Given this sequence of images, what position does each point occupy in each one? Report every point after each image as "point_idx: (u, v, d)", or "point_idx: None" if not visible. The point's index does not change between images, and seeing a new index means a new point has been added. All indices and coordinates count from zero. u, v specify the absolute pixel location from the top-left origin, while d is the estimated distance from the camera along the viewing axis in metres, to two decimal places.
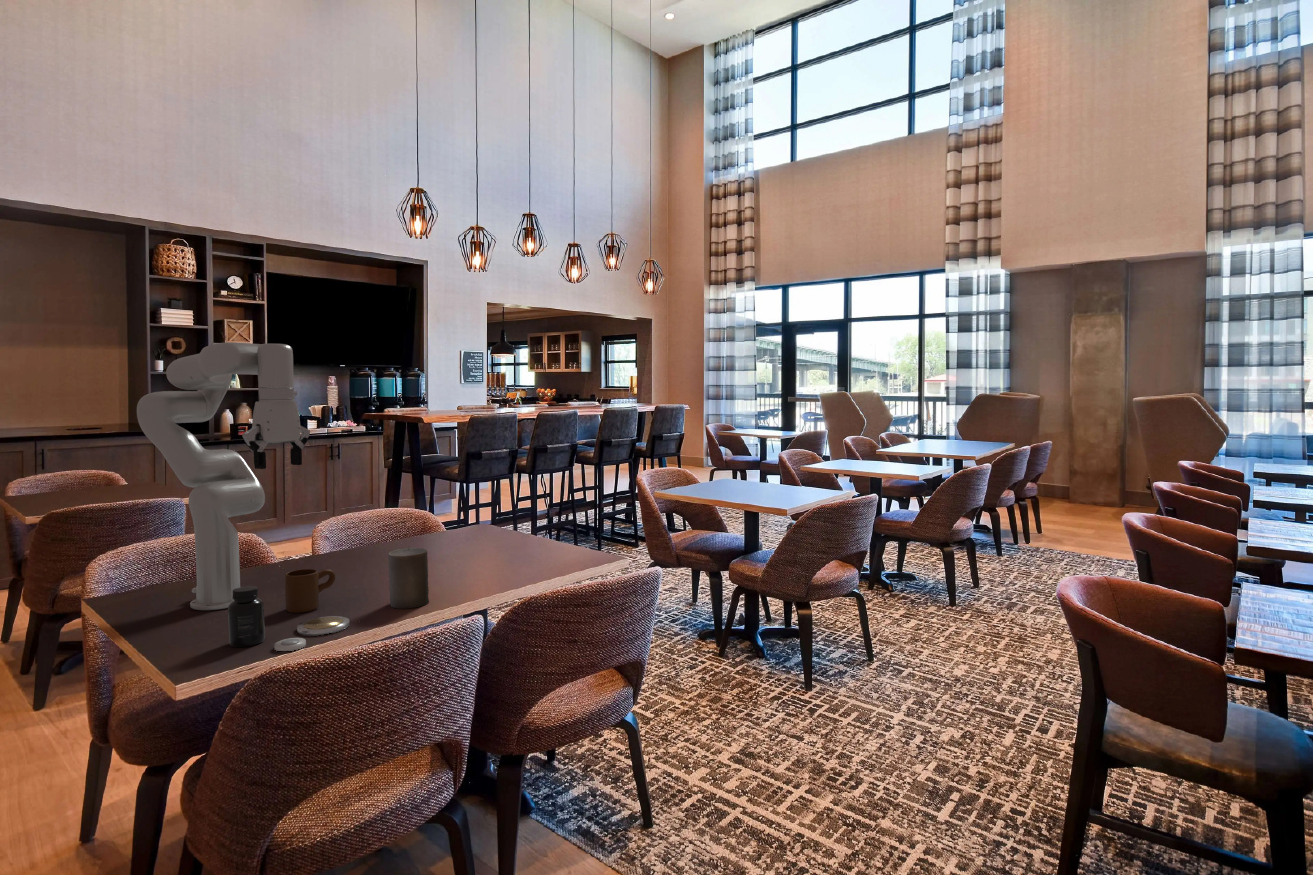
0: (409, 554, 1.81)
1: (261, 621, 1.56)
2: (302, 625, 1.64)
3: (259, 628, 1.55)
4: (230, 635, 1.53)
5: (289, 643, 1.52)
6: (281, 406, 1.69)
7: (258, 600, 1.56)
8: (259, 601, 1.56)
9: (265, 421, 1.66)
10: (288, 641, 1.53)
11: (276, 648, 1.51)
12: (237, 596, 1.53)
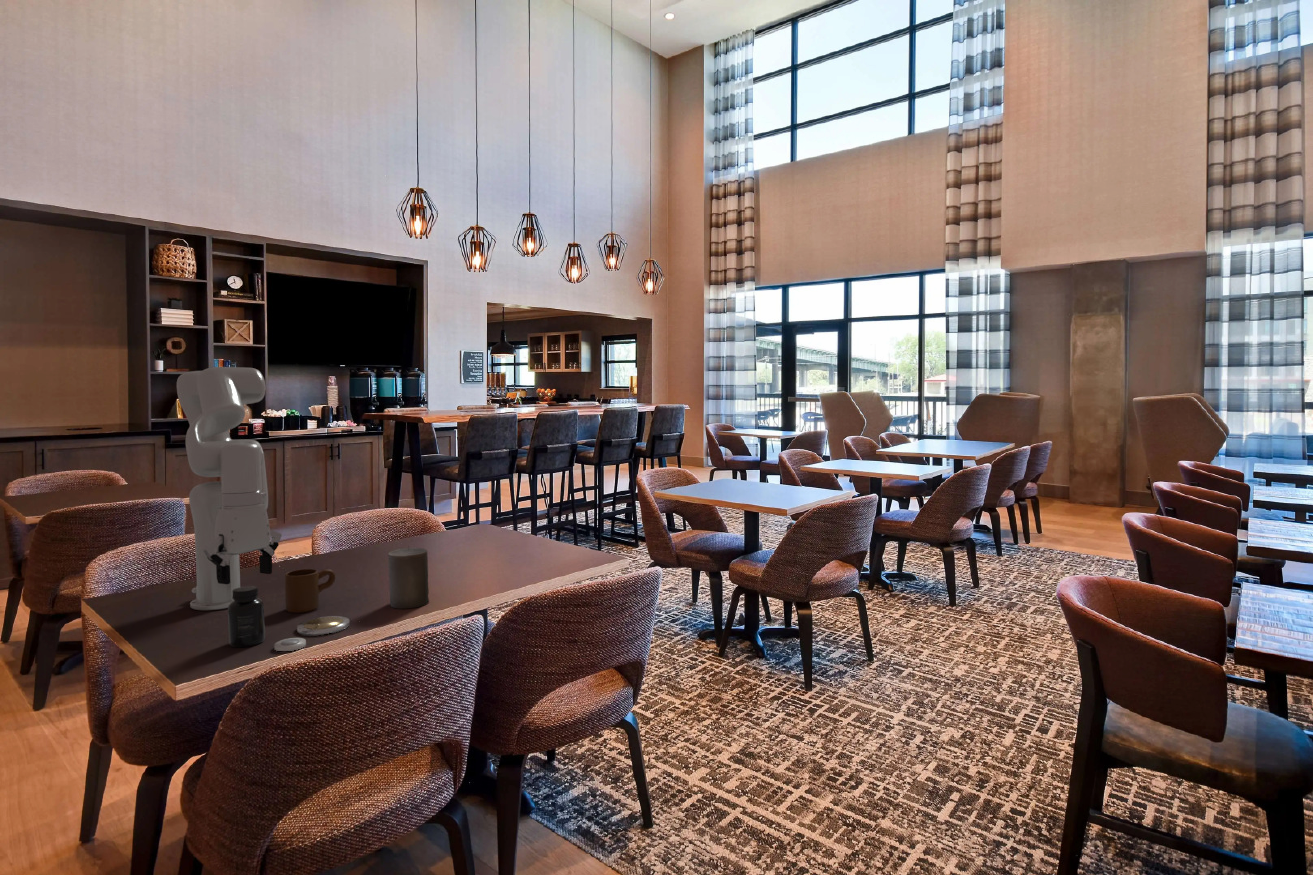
0: (409, 554, 1.81)
1: (261, 621, 1.56)
2: (302, 625, 1.64)
3: (259, 628, 1.55)
4: (230, 635, 1.53)
5: (289, 643, 1.52)
6: (247, 512, 1.52)
7: (258, 600, 1.56)
8: (259, 601, 1.56)
9: (229, 531, 1.49)
10: (288, 641, 1.53)
11: (276, 648, 1.51)
12: (237, 596, 1.53)
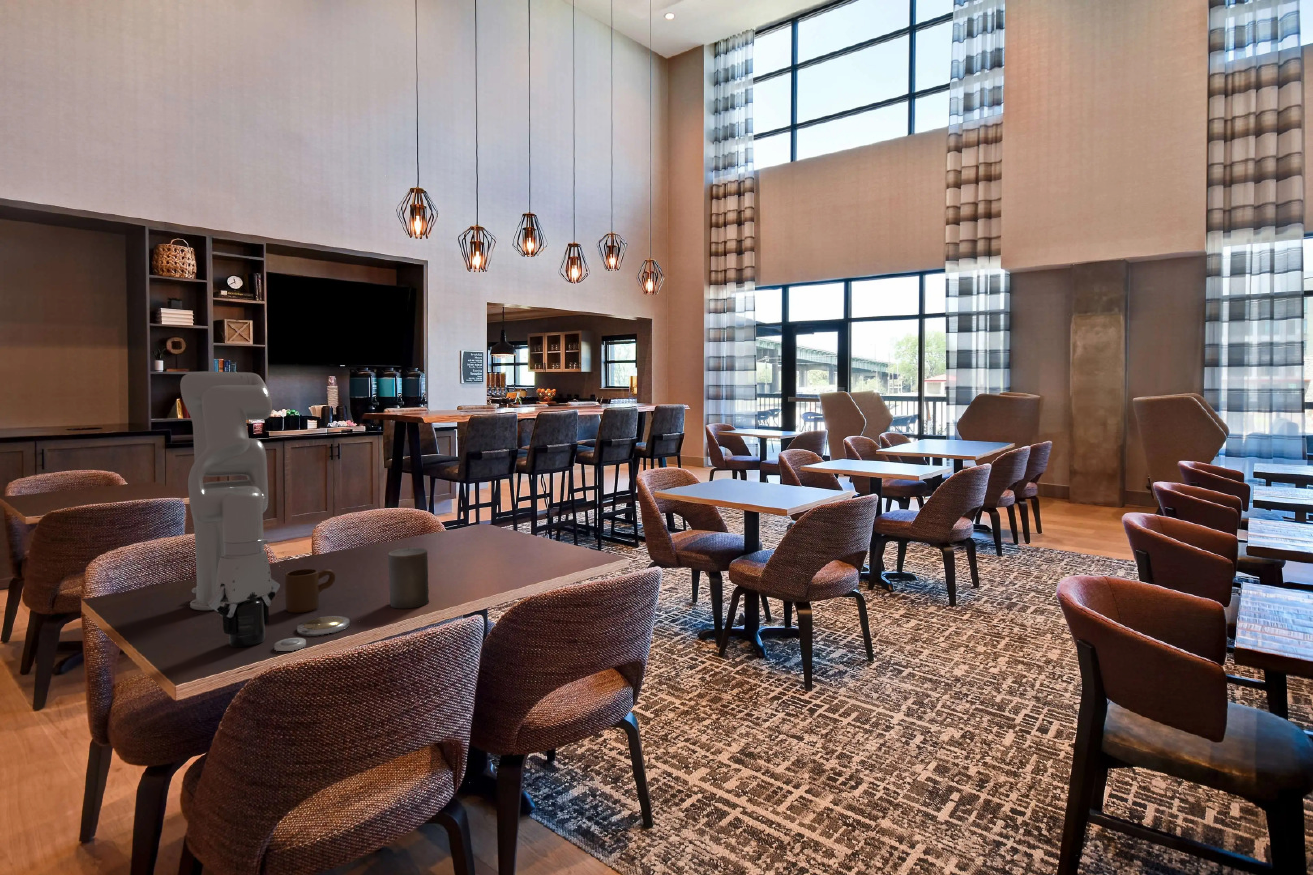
0: (409, 554, 1.81)
1: (261, 621, 1.56)
2: (302, 625, 1.64)
3: (259, 627, 1.55)
4: (230, 635, 1.53)
5: (289, 643, 1.52)
6: (249, 561, 1.53)
7: (258, 600, 1.56)
8: (259, 601, 1.56)
9: (230, 581, 1.50)
10: (288, 641, 1.53)
11: (276, 648, 1.51)
12: None
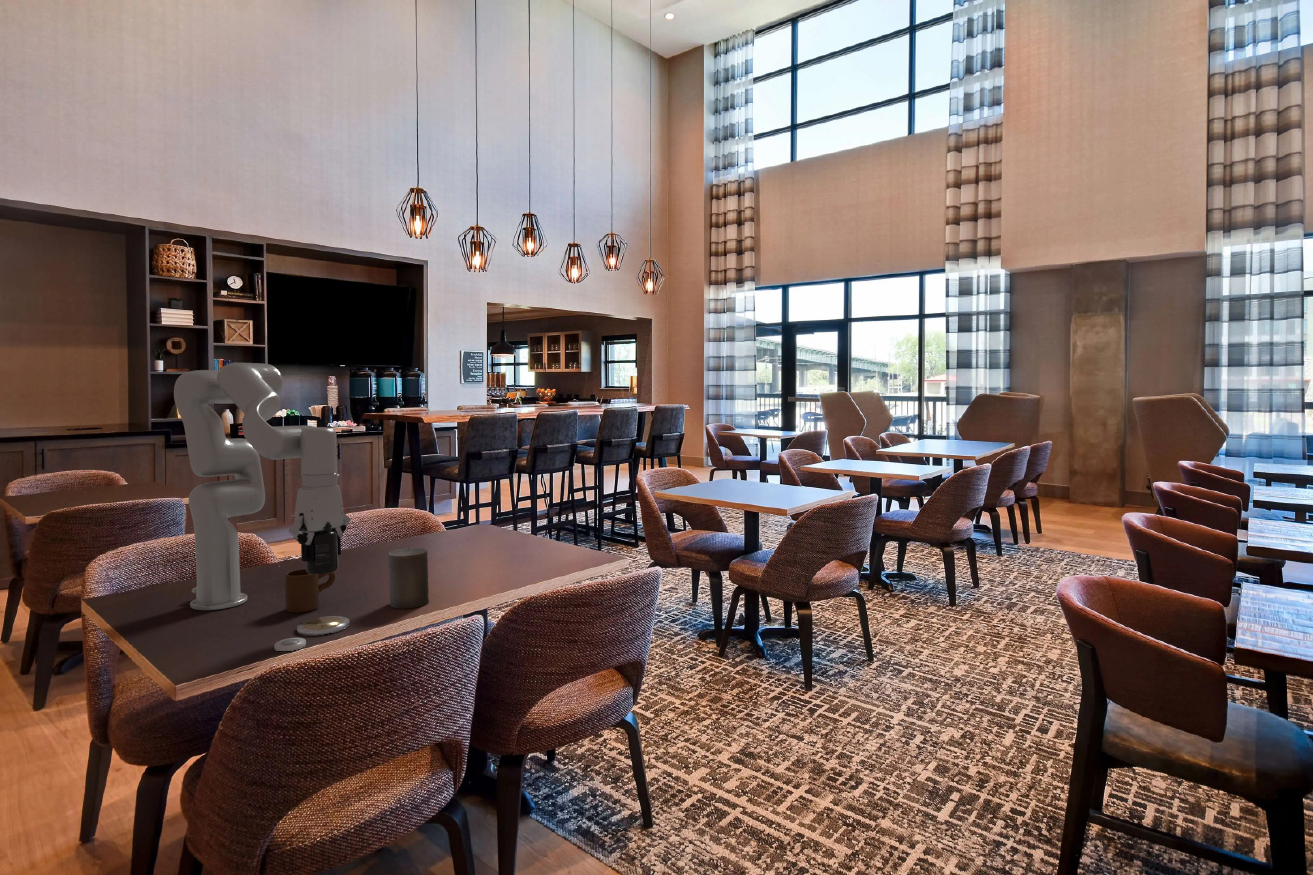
0: (409, 554, 1.81)
1: (335, 550, 1.65)
2: (302, 625, 1.64)
3: (334, 556, 1.64)
4: (307, 563, 1.62)
5: (289, 643, 1.52)
6: (325, 493, 1.62)
7: (333, 531, 1.65)
8: (334, 532, 1.65)
9: (309, 510, 1.59)
10: (288, 641, 1.53)
11: (276, 648, 1.51)
12: None
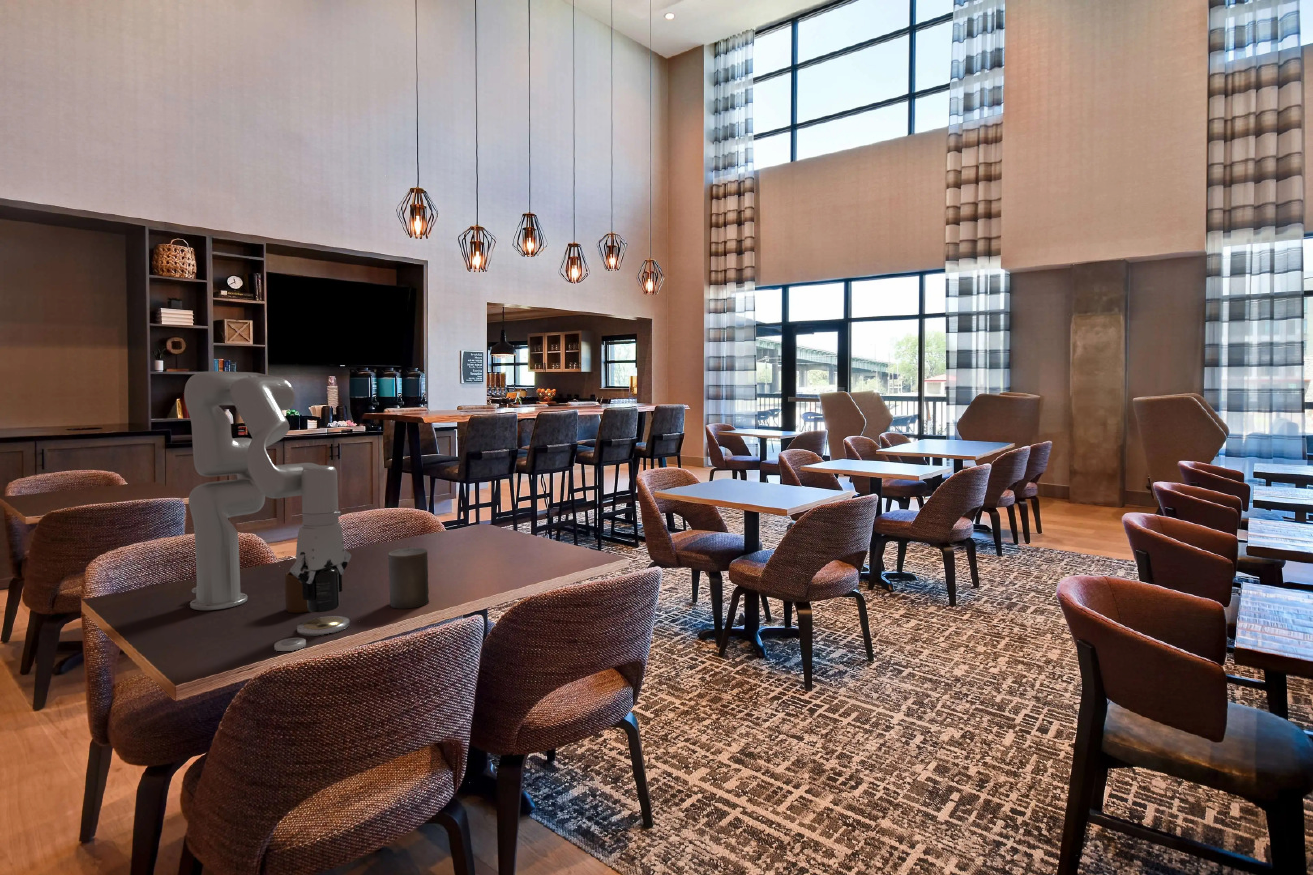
0: (409, 554, 1.81)
1: (337, 588, 1.65)
2: (302, 625, 1.64)
3: (335, 594, 1.65)
4: (309, 601, 1.63)
5: (289, 643, 1.52)
6: (326, 531, 1.63)
7: (334, 568, 1.65)
8: (335, 569, 1.65)
9: (310, 549, 1.60)
10: (288, 641, 1.53)
11: (276, 648, 1.51)
12: None
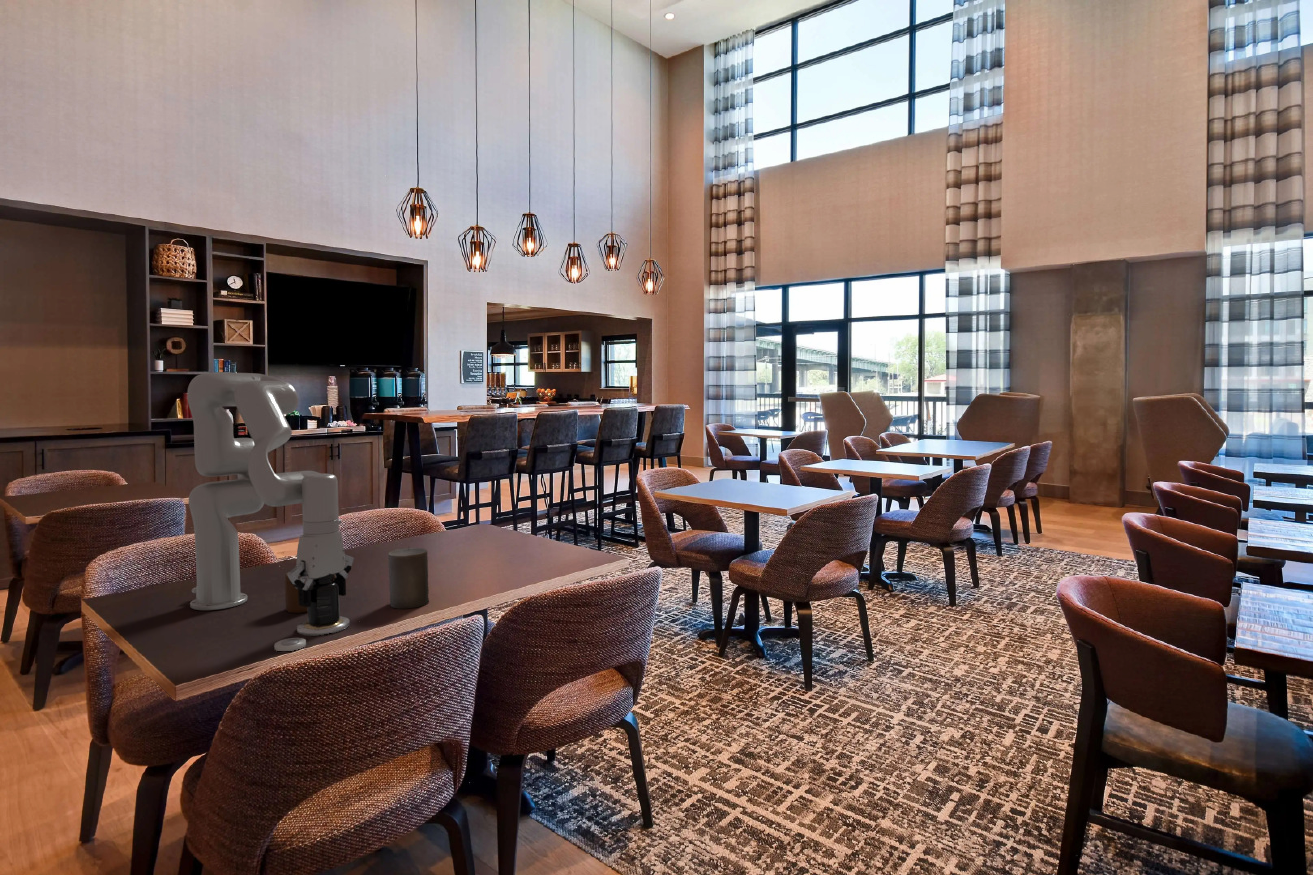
0: (409, 554, 1.81)
1: (337, 602, 1.66)
2: (302, 625, 1.64)
3: (336, 608, 1.65)
4: (309, 615, 1.63)
5: (289, 643, 1.52)
6: (326, 539, 1.63)
7: (334, 582, 1.66)
8: (335, 583, 1.66)
9: (310, 558, 1.60)
10: (288, 641, 1.53)
11: (276, 648, 1.51)
12: None
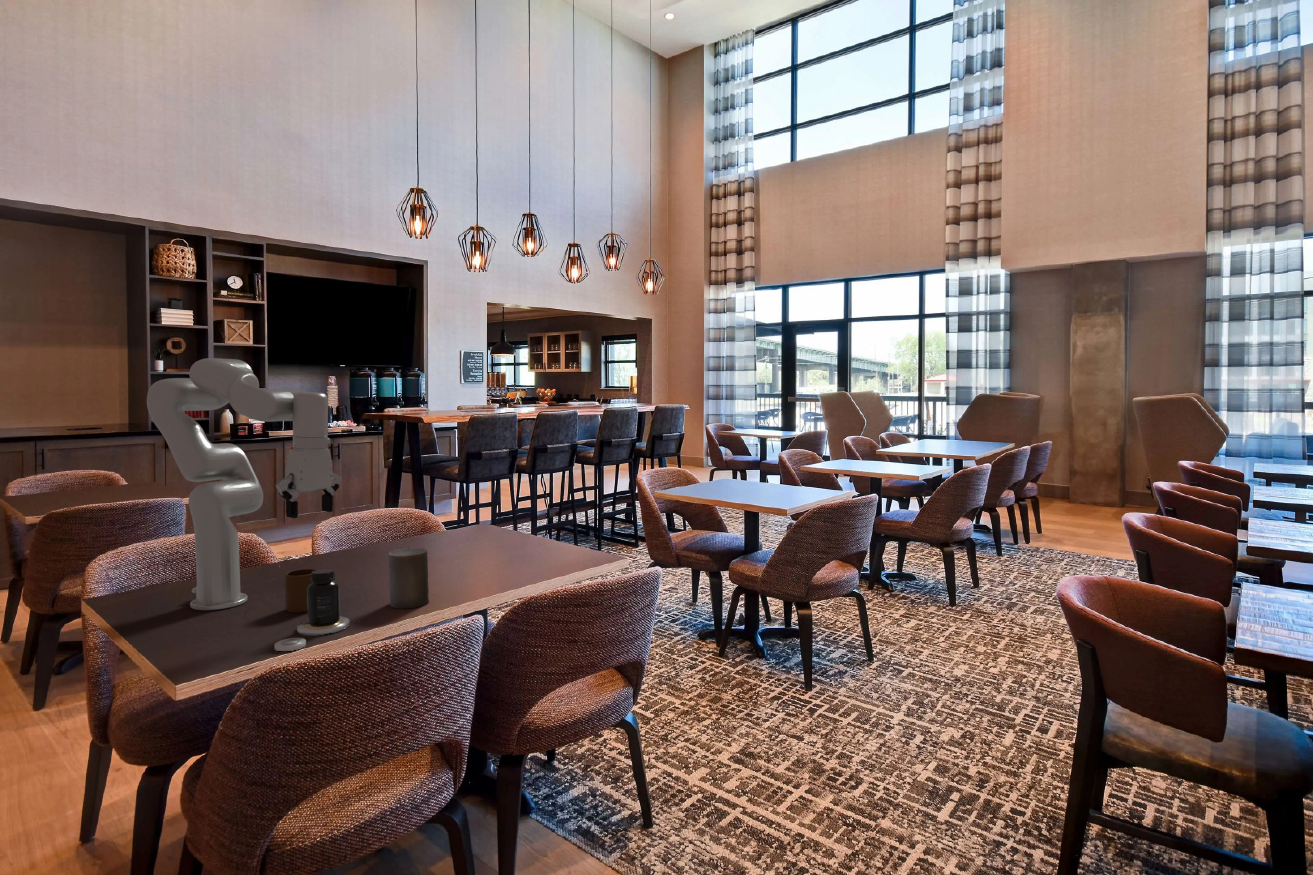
0: (409, 554, 1.81)
1: (337, 602, 1.66)
2: (302, 625, 1.64)
3: (336, 608, 1.65)
4: (309, 615, 1.63)
5: (289, 643, 1.52)
6: (315, 455, 1.69)
7: (334, 582, 1.66)
8: (335, 583, 1.66)
9: (298, 471, 1.66)
10: (288, 641, 1.53)
11: (276, 648, 1.51)
12: (316, 578, 1.63)
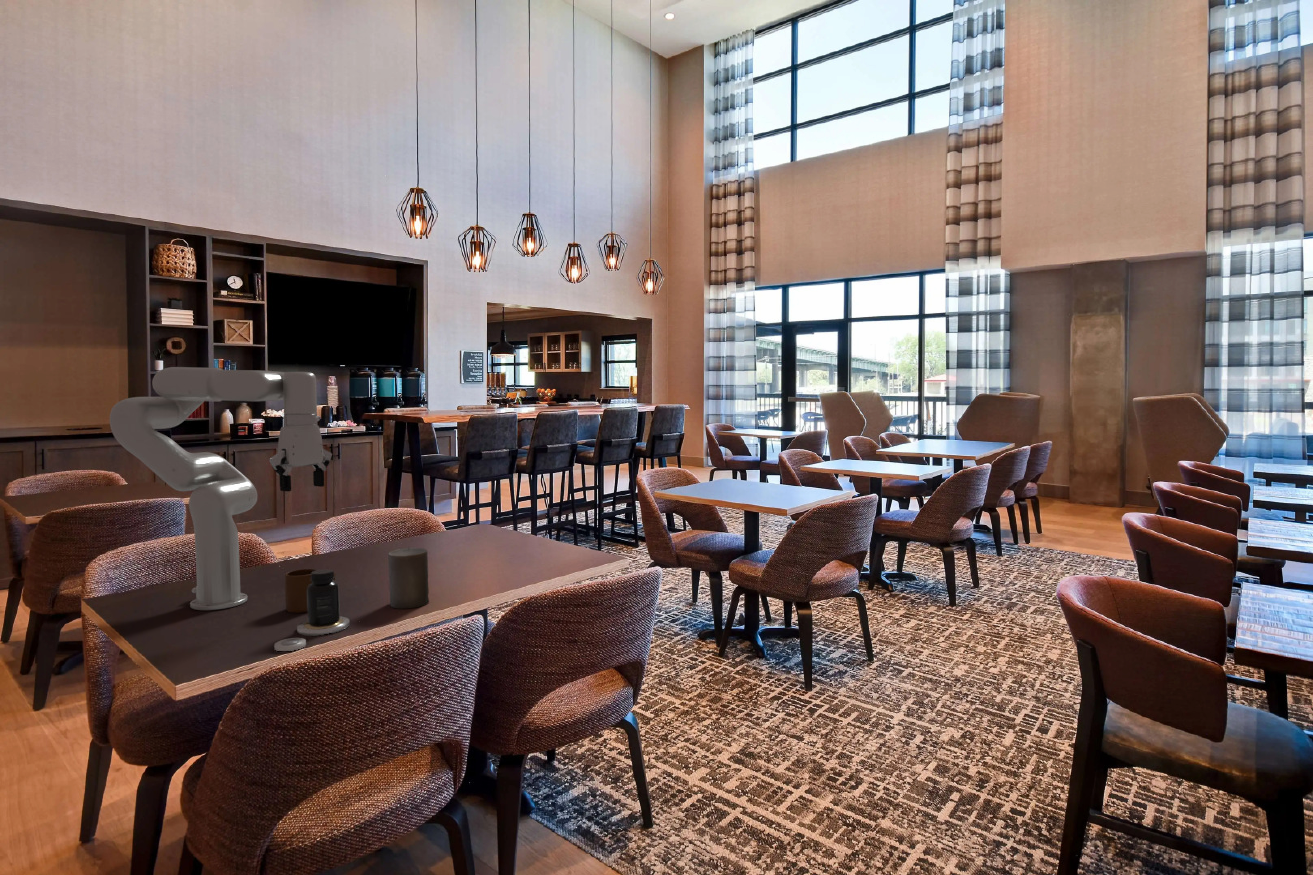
0: (409, 554, 1.81)
1: (337, 602, 1.66)
2: (302, 625, 1.64)
3: (336, 608, 1.65)
4: (309, 615, 1.63)
5: (289, 643, 1.52)
6: (305, 431, 1.78)
7: (334, 582, 1.66)
8: (335, 583, 1.66)
9: (290, 446, 1.75)
10: (288, 641, 1.53)
11: (276, 648, 1.51)
12: (316, 578, 1.63)
